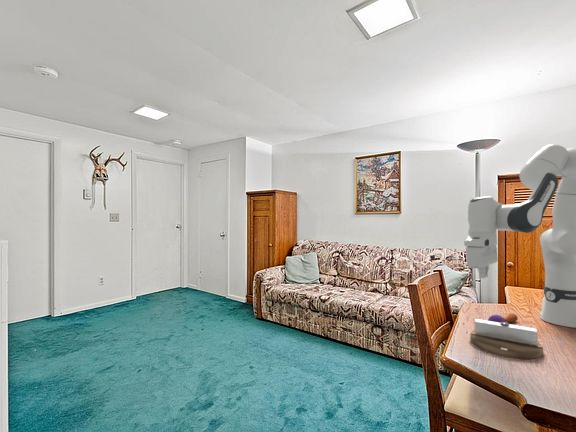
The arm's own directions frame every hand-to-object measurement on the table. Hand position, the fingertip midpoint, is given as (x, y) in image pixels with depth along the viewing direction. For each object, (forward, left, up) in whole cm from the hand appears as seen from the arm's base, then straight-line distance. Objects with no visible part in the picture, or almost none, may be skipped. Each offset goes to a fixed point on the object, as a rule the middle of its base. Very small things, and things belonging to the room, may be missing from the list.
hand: (483, 277), depth 112 cm
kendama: (-16, -8, -22) cm, 28 cm away
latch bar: (0, +9, -19) cm, 21 cm away
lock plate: (0, +9, -22) cm, 23 cm away
